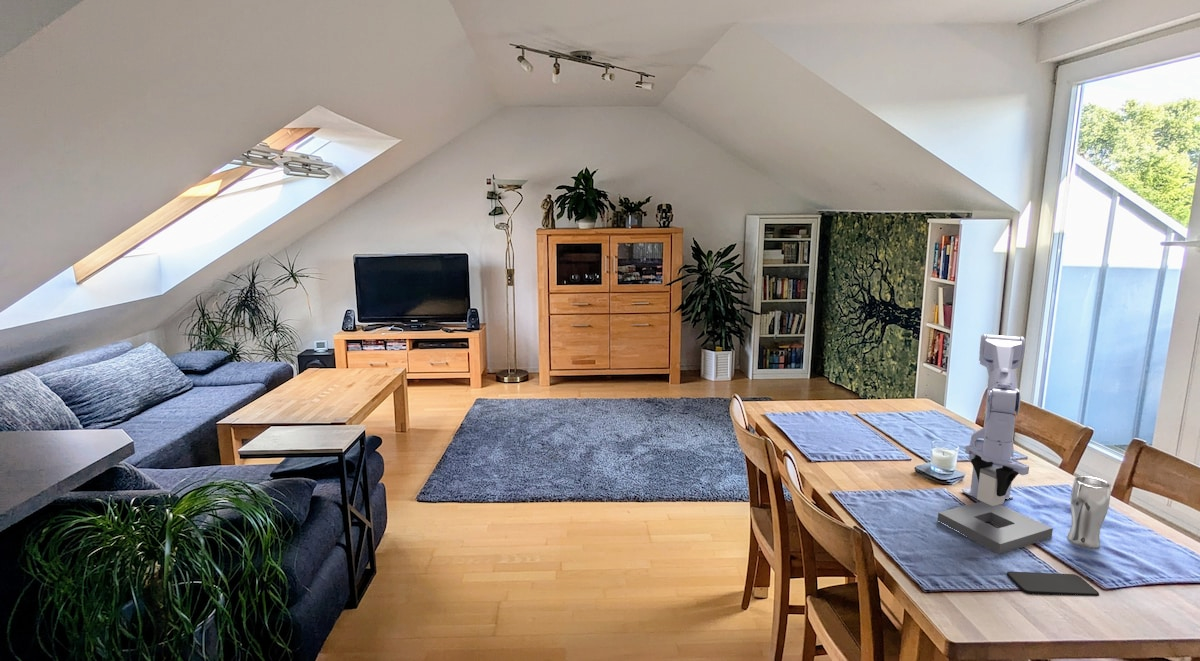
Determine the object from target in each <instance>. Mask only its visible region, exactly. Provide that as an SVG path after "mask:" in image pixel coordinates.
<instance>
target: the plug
mask: <svg viewBox="0 0 1200 661" xmlns="http://www.w3.org/2000/svg"><path fill="white" fill-rule="evenodd" d="M996 469H998V468H996V467H994V466H989V467H985V468H980V477H979V485H978V494H977V499H976V500H978V501H979V502H980V501H982V502H984V503H987V504H989V505H991V506H995V505H999V504H1000V505H1002V504H1005V500H1004V499H1005V495H1004V496H997V474H996Z"/></svg>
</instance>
